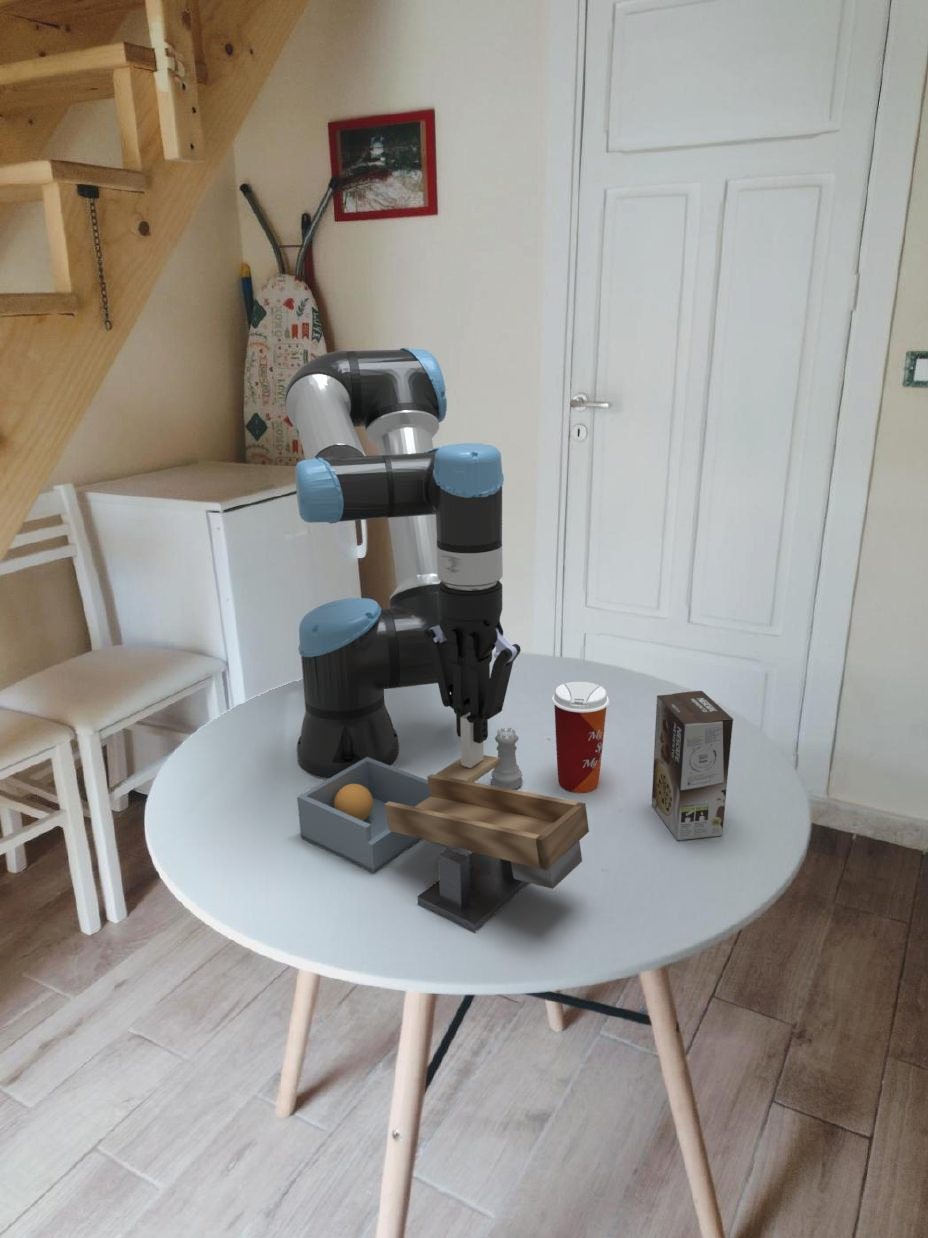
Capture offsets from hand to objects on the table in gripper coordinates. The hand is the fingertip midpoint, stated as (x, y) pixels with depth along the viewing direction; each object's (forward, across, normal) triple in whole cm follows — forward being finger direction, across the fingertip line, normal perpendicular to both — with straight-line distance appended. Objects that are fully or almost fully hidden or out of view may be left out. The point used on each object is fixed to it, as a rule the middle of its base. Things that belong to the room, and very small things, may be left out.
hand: (472, 762), depth 109 cm
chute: (+5, +9, -5) cm, 11 cm away
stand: (+10, +8, -8) cm, 15 cm away
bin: (+10, -10, -8) cm, 16 cm away
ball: (+6, -13, -8) cm, 17 cm away
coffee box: (+10, +21, +18) cm, 29 cm away
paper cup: (+10, +5, +18) cm, 21 cm away
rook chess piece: (+10, -3, +12) cm, 15 cm away
